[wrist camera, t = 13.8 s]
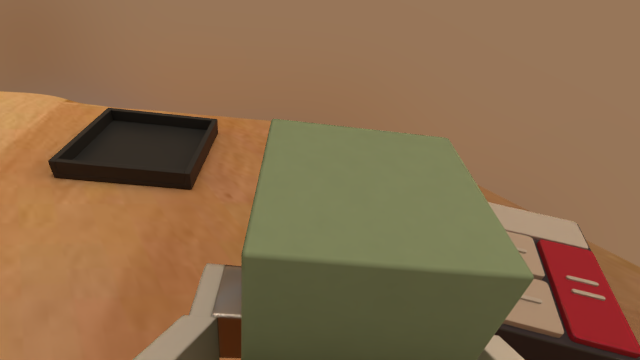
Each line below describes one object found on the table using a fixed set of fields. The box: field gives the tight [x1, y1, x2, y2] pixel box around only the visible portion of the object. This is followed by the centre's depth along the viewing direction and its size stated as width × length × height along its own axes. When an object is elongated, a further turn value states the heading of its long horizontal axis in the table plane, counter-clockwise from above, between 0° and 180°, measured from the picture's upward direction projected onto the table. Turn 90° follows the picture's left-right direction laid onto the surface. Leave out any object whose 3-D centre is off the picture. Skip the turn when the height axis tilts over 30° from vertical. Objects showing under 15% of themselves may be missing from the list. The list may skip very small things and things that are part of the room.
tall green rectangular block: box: [241, 119, 534, 360], centre depth 10 cm, size 4×4×10 cm
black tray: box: [48, 108, 218, 189], centre depth 43 cm, size 14×13×2 cm
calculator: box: [488, 202, 640, 360], centre depth 32 cm, size 11×4×15 cm
